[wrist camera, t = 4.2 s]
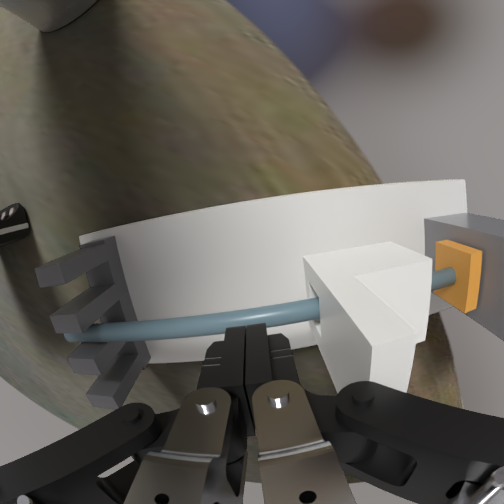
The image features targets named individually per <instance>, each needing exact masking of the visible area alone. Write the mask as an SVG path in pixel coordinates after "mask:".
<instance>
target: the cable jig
mask: <svg viewBox="0 0 504 504" xmlns="http://www.w3.org/2000/svg"><path fill="white" fill-rule="evenodd" d="M79 239H80V244H81V245H79V247H80V250H77V251H75V252H72V253H70V254H67V255H65V256H62V257H60V258H57V259H55V260H53V261H50V262H48V263H46V264H43V265H41V266H39V267H36V268H34V269H35V273H36V277H37V280H38V283H39V287H40V288H42V287H49V286H56V285H62V284H66V283H68V282H70V281H72V280H73V279H75V278H77V277H79V276H80V275H82V274H84V273H86V275H87V278H88V282H89V285H90V288H89V289H87V290H86V291H84V292H83V293H81V294H80V295H78V296H77V297H75V298H74V299H72V300H71V301H70V302H68V303H67V304H65V305H64V306H62V307H61V308H60V309H58V310H57V311H55V312H54V313H53V314H51V315H50V319H51V322H52V324H53V327H54V329H55V332H56V333H64V337H65V339H66V340H67V341H68V342H82V343H81V344H80V345H79V346H78V347H77V348H76V349H75V350H74V351H73V352H72V353H71V354H70V356H69V357H68V358H67V359H68V361H69V363H70V365H71V367H72V369H73V371H74V373H77V374H89V375H99V376H98V378H97V379H96V380H95V382H94V383H93V385H92V386H91V387H90V389H89V390H88V391H87V393H86V395H87V397H88V399H89V401H90V402H91V404H92V406H93V407H100V408H108V409H118V408H120V407H122V405H123V403H124V401H125V399H126V397H127V396H128V394H129V392H130V390H131V388H132V386H133V385H134V383H135V381H136V379H137V377H138V376H139V374H140V372H141V370H145V368H146V366H147V364H148V363H175V362H191V361H204V359H205V354H206V350H207V349H208V348H209V346H210V345H211V344H212V343H213V342H215V341H224V337H225V331H226V328H228V327H236V326H244V325H245V326H247V325H251V324H259V323H266V328H267V335H271V334H278V333H282V334H283V335H284V336H285V337H287V338H288V339H289V342H290V346H291V349H297V348H302V347H308V346H313V345H317V343H316V340H315V338H314V335H313V333H312V331H311V328H310V325H309V321H311V320H316V319H320V309H319V297H316V298H310V299H307V292H306V282H305V273H304V264H303V256H306V255H312V254H319V253H325V252H331V251H337V250H343V249H349V248H354V247H360V246H366V245H372V244H378V243H384V242H389V241H390V242H393V243H395V244H398V245H400V246H403V247H405V248H408V249H410V250H413V251H415V252H417V253H420V254H422V255H425V256H427V257H429V258H432V283H431V296H430V307H429V315H431V314H434V313H437V312H439V311H442V310H445V309H448V308H451V307H453V306H454V307H455V308H457V309H458V310H460V311H461V312H463V313H464V314H466V315H467V316H469V317H470V318H472V319H473V320H475V321H476V322H477V323H479V324H480V325H482V326H483V327H485V328H486V329H488V330H489V331H490V332H492V333H493V334H495V335H496V336H497V337H499V338H500V339H501V340H503V341H504V220H502V219H496V218H491V217H487V216H481V215H475V214H470V213H467V199H466V187H465V180H460V179H454V180H453V179H452V180H432V181H415V182H402V183H387V184H376V185H365V186H355V187H346V188H337V189H328V190H320V191H312V192H304V193H296V194H289V195H282V196H275V197H268V198H262V199H255V200H249V201H243V202H237V203H231V204H225V205H219V206H213V207H208V208H202V209H197V210H192V211H187V212H181V213H176V214H171V215H167V216H162V217H157V218H152V219H147V220H143V221H138V222H134V223H129V224H125V225H121V226H116V227H112V228H108V229H104V230H100V231H96V232H92V233H88V234H85V235H82V236H79ZM99 317H100V319H101V322H102V323H101V324H93V323H94V322H95V321H96V320H97V319H98V318H99Z"/></svg>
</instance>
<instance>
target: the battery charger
mask: <svg viewBox="0 0 504 504" xmlns="http://www.w3.org/2000/svg"><path fill="white" fill-rule="evenodd" d="M28 228H29V226H28V223H27V220H26V215H25V211H24V209H23V207H22V205H21V204H20V203H15V204H12V205H10V206H8V207H6V208H5V209H3V210H1V211H0V247H2V246H4V245H7V244H9V243H12V242H14V241H17V240H19V239H22V238H24V237H26V236H28V234H29V231H28Z"/></svg>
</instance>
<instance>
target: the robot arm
mask: <svg viewBox="0 0 504 504" xmlns="http://www.w3.org/2000/svg"><path fill="white" fill-rule="evenodd" d="M96 1H97V0H0V6H1V7H3V8H5V9H6V10H8V11H10V12H12V13H13V14H15V15H17V16H18V17H20V18H22V19H23V20H25V21H27V22H28V23H30V24H31V25H33V26H35V27H36V28H38V29H39V30H41V31H43V32H51V31H54V30H57V29H59V28H61V27H63V26H65V25H67V24H68V23H70V22H71V21H73V20H75V19H76V18H77V17H79V16H80V15H81V14H83V13H84V12H85V11H86V10H87V9H88V8H90V7H91V6H92V5H93V4H94V3H95V2H96ZM255 428H256V433H257V441H258V448H259V455H258V461H259V469H260V476H261V483H262V490H263V496H264V503H265V504H356V502H355V499H354V497H353V494H352V492H351V489H350V487H349V485H348V482H347V480H346V477H345V475H344V472H343V471H345V472H347V473H349V474H351V475H353V476H355V477H357V478H359V479H361V480H363V481H365V482H367V483H369V484H372V485H374V486H376V487H378V488H380V489H382V490H385V491H387V492H389V493H392V494H394V495H397V496H399V497H402V498H404V499H407V500H410V501H412V502H415V503H418V504H504V418H500V417H495V416H491V415H486V414H481V413H477V412H473V411H469V410H465V409H461V408H457V407H453V406H449V405H445V404H442V403H438V402H435V401H431V400H428V399H424V398H421V397H418V396H415V395H411V394H408V393H405V392H402V391H399V390H396V389H393V388H390V387H387V386H384V385H381V384H378V383H375V382H371V381H359V382H354V383H351V384H349V385H347V386H345V387H344V388H342V389H341V390H340V391H339V393H338V394H337V396H320V395H315V394H312V393H310V392H308V391H306V390H305V389H304V388H303V387H302V386H301V385H300V382H299V378H298V374H297V370H296V366H295V362H294V358H293V354H292V350H291V346H290V342H289V339H288V338H287V337H285V336H284V335H283V334H282V333H278V334H271V335H267V328H266V323H259V324H251V325H247V326H245V325H244V326H236V327H228V328H226V331H225V337H224V341H215V342H213V343H212V344H211V345H210V346H209V348H208V349H207V350H206V354H205V359H204V362H203V367H202V370H201V374H200V378H199V382H198V386H197V390H195V391H193V392H191V393H190V394H188V395H187V396H186V397H185V398H184V400H183V401H182V404H181V406H180V408H179V409H177V410H173V411H169V412H164V413H160V414H155V413H154V411H153V409H152V408H151V407H150V406H148V405H146V404H143V403H130V404H127V405H124V406H122V407H120V408H118V409H116V410H115V411H113V412H111V413H109V414H108V415H106V416H104V417H102V418H100V419H99V420H97V421H95V422H93V423H91V424H89V425H88V426H86V427H84V428H82V429H80V430H78V431H76V432H74V433H72V434H71V435H68V436H66V437H64V438H63V439H61V440H58V441H56V442H54V443H52V444H50V445H48V446H46V447H44V448H42V449H40V450H38V451H35V452H33V453H31V454H29V455H27V456H24V457H22V458H20V459H17V460H15V461H13V462H10V463H8V464H5V465H3V466H0V504H243V494H244V485H245V476H246V467H247V458H248V453H247V450H246V449H247V436H255ZM130 456H132V458H133V459H134V461H133V462H131V463H130V464H128V465H126V466H125V467H123V468H121V469H120V470H118V471H116V472H115V473H113V474H111V475H110V476H108V477H105V478H99V477H97V476H98V475H100V474H101V473H103V472H105V471H107V470H108V469H110V468H112V467H113V466H115V465H117V464H119V463H120V462H122V461H124V460H125V459H127V458H128V457H130Z"/></svg>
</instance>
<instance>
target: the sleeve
mask: <svg viewBox="0 0 504 504" xmlns="http://www.w3.org/2000/svg"><path fill="white" fill-rule="evenodd" d="M303 264H304V273H305V282H306V292H307V299H310V298H316V297H319V309H320V319H316V320H311V321H309V325H310V328H311V331H312V333H313V335H314V338H315V340H316V343H317V345H318V347H319V350H320V352H321V355H322V357H323V359H324V362H325V364H326V367H327V369H328V371H329V374H330V376H331V379H332V381H333V384H334V386H335V389H336V391H337V394H338V393H339V391H340V390H341V389H342V388H344V387H345V386H347V385H349V384H351V383H354V382H359V381H371V382H375V383H378V384H381V385H384V386H387V387H390V388H393V389H396V390H399V391H402V392H405V393H406V392H407V388H408V383H409V379H410V374H411V369H412V364H413V358H414V352H415V346H416V344H417V343H419V342H422V341H425V338H426V332H427V324H428V316H429V307H430V296H431V283H432V258H429V257H427V256H425V255H422V254H420V253H417V252H415V251H413V250H410V249H408V248H405V247H403V246H400V245H398V244H395V243H393V242H390V241H389V242H384V243H378V244H372V245H366V246H360V247H354V248H349V249H343V250H337V251H331V252H325V253H319V254H312V255H306V256H303Z"/></svg>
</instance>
